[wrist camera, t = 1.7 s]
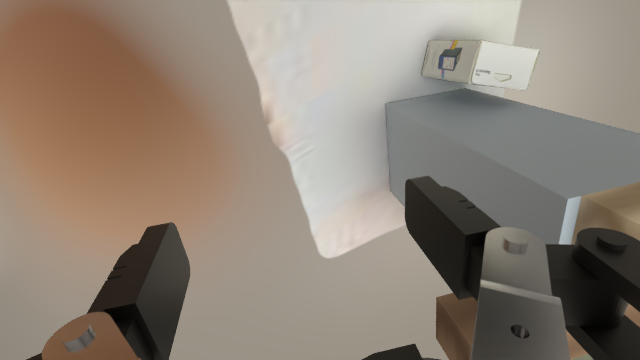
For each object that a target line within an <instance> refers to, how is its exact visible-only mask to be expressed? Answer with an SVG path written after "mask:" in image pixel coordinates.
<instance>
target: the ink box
mask: <svg viewBox="0 0 640 360" xmlns="http://www.w3.org/2000/svg"><path fill="white" fill-rule="evenodd" d="M539 53H540V50H538V49H531V48H526V47H520V46H514V45H508V44H502V43H496V42H490V41H484V40H434V41H429V44H428V48H427V52H426V57H425V61H424V66H423V70H422V76H425V77H430V78H436V79H441V80H447V81H453V82H459V83H466V84H474V85H482V86H492V87H500V88H509V89H518V90H526V89H528V87H529V83H530V80H531V78H532V75H533V72H534V68H535V66H536V63H537V60H538V56H539Z"/></svg>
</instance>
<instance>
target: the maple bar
mask: <svg viewBox="0 0 640 360" xmlns="http://www.w3.org/2000/svg"><path fill="white" fill-rule="evenodd" d="M587 228H606V229H611V230H616V231H619V232H622V233H625V234H627V235H630V236H632V237H634V238H636V239H637V240H639V241H640V182H637V183H633V184H628V185H624V186H620V187H616V188H612V189H608V190H604V191H599V192H595V193H591V194H587V195H583V196H582V197H581V201H580V205H579V210H578V214H577V219H576V223H575V228H574V232H573V237H572V241H571V245H574V244H575V240H576V237H577V234H578V232H579V231H581V230H583V229H587Z"/></svg>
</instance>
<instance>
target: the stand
mask: <svg viewBox="0 0 640 360" xmlns="http://www.w3.org/2000/svg"><path fill="white" fill-rule="evenodd" d="M385 106H386V124H387V141H388V158H389V176H390V191H391V192H392V193H393V194H394V196H395V197H396V198H397V199H398V200H399V201H400V202H401V203H402V205H403V206H404V207H405V183H406V180H407V179H411V178H416V177H422V176H430V177H431V178H432V179H433V180H435V181H436V182H437V183H438V184H439V185H440V186H441V187H443V186H446V187H449V188H451V189H454V190H456V191H459V192H460V193H461V194H462V195H464V196H465V197H466V198H467V199H468V201H471V202H472V203H473V204H474V205H476V208H477V207H478V208H479V209H481V210H482V211H483V212H484V213H485V214H487V215H488V216H489V217H490V218H491V219H493V220H494V221H495V222H496V223H497V224H499V225H500V226H501V227H512V228H518V229H522V230H526V231H528V232H531V233H533V234H534V235H536V236H538V237H539V238H540V239H541V240H542V241H543V242H544V244H568V245H571V241H572V237H573V232H574V228H575V223H576V219H577V214H578V210H579V205H580V201H581V197H582V196H583V195H587V194H591V193H595V192H599V191H604V190H608V189H612V188H616V187H620V186H624V185H628V184H633V183H637V182H640V134H639V133H636V132H632V131H627V130H624V129H620V128H616V127H612V126H608V125H605V124H601V123H597V122H593V121H589V120H585V119H582V118H578V117H574V116H570V115H565V114H562V113H558V112H554V111H551V110H547V109H543V108H539V107H535V106H531V105H527V104H523V103H519V102H516V101H512V100H508V99H504V98H500V97H497V96H493V95H489V94H485V93H481V92H477V91H473V90H470V89H466V88H464V89H458V90H453V91H448V92H443V93H438V94H432V95H427V96H422V97H417V98H411V99H406V100H401V101H396V102H391V103H385Z"/></svg>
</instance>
